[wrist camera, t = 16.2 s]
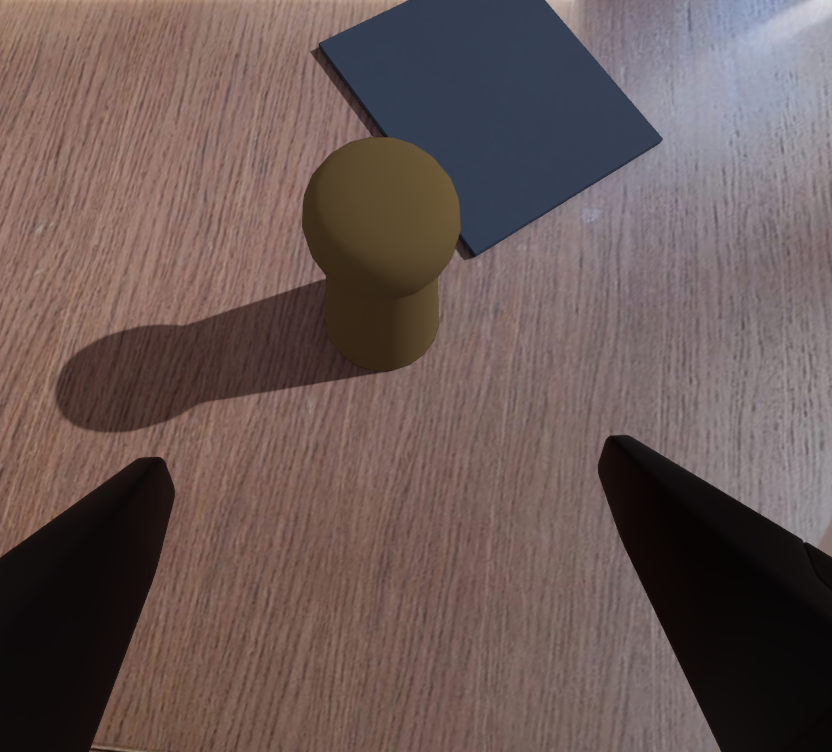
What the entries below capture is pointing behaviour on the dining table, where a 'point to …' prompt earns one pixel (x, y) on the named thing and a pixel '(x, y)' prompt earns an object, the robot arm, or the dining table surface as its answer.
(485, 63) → the book
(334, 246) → the cork
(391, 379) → the dining table surface
